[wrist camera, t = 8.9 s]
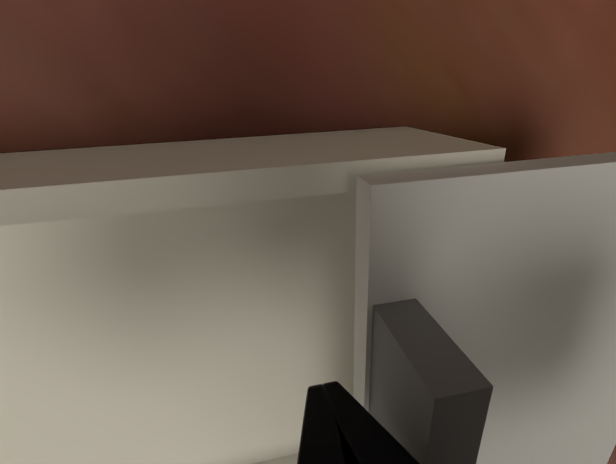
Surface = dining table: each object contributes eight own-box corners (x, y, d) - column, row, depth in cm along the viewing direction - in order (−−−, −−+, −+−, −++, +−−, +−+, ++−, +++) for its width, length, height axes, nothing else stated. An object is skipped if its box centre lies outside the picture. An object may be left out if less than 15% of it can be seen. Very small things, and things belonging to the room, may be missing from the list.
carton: (385, 432, 22) (434, 543, 17) (-2, 520, 19) (-97, 698, 13) (406, 126, 15) (506, 148, 10) (-229, 168, 11) (-661, 244, 6)
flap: (557, 512, 18) (641, 621, 14) (350, 573, 16) (385, 716, 12) (703, 144, 11) (952, 173, 7) (356, 175, 9) (448, 238, 5)
